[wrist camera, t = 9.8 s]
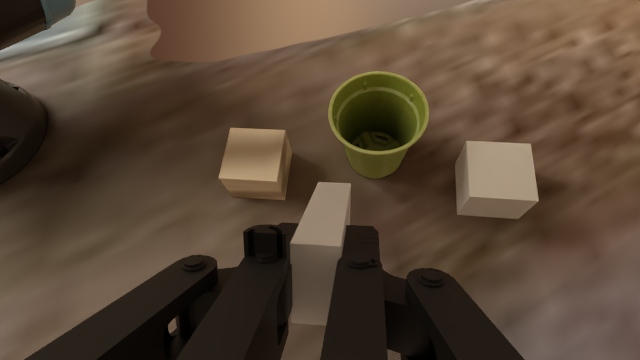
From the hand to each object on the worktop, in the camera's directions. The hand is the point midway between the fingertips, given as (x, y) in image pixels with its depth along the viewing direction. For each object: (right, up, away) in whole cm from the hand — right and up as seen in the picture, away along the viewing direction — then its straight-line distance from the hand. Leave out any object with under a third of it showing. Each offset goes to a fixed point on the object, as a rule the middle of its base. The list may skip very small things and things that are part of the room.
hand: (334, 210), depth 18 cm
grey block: (+17, 0, +23) cm, 28 cm away
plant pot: (+6, +4, +26) cm, 27 cm away
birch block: (-7, +2, +26) cm, 27 cm away
